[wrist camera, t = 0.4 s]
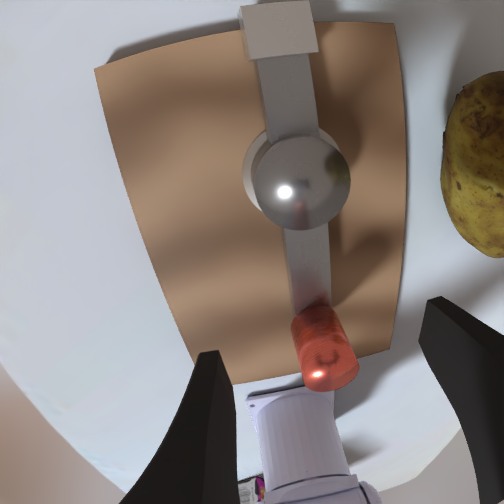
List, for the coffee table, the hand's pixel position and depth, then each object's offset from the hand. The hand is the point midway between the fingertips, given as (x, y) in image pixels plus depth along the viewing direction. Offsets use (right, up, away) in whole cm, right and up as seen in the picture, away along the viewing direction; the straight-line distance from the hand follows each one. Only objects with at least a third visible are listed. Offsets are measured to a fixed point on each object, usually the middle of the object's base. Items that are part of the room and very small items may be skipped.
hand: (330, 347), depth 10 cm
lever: (0, +6, +6) cm, 9 cm away
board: (+6, +5, +9) cm, 12 cm away
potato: (+11, +9, +8) cm, 16 cm away
